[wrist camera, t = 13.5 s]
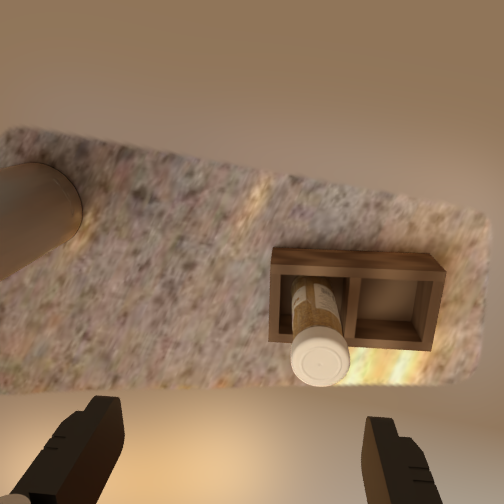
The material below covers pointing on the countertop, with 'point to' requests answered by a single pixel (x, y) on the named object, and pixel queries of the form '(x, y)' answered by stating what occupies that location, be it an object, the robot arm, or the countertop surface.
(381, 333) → the spice caddy
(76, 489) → the robot arm
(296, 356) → the sprinkles bottle
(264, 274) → the countertop surface
